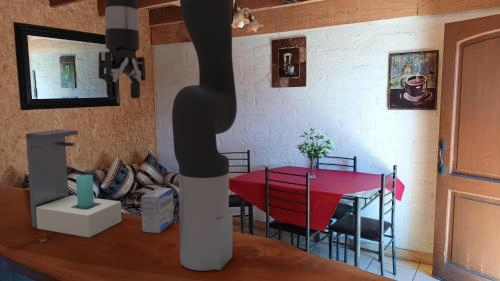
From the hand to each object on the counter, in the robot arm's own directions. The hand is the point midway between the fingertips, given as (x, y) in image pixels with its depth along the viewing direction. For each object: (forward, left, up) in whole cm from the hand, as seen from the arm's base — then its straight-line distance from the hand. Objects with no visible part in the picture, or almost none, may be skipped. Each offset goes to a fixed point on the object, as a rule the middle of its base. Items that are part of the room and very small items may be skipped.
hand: (124, 98), depth 90 cm
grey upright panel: (+15, +7, -30) cm, 34 cm away
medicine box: (-10, +2, -30) cm, 32 cm away
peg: (+6, +8, -30) cm, 32 cm away
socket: (+8, +8, -30) cm, 32 cm away
